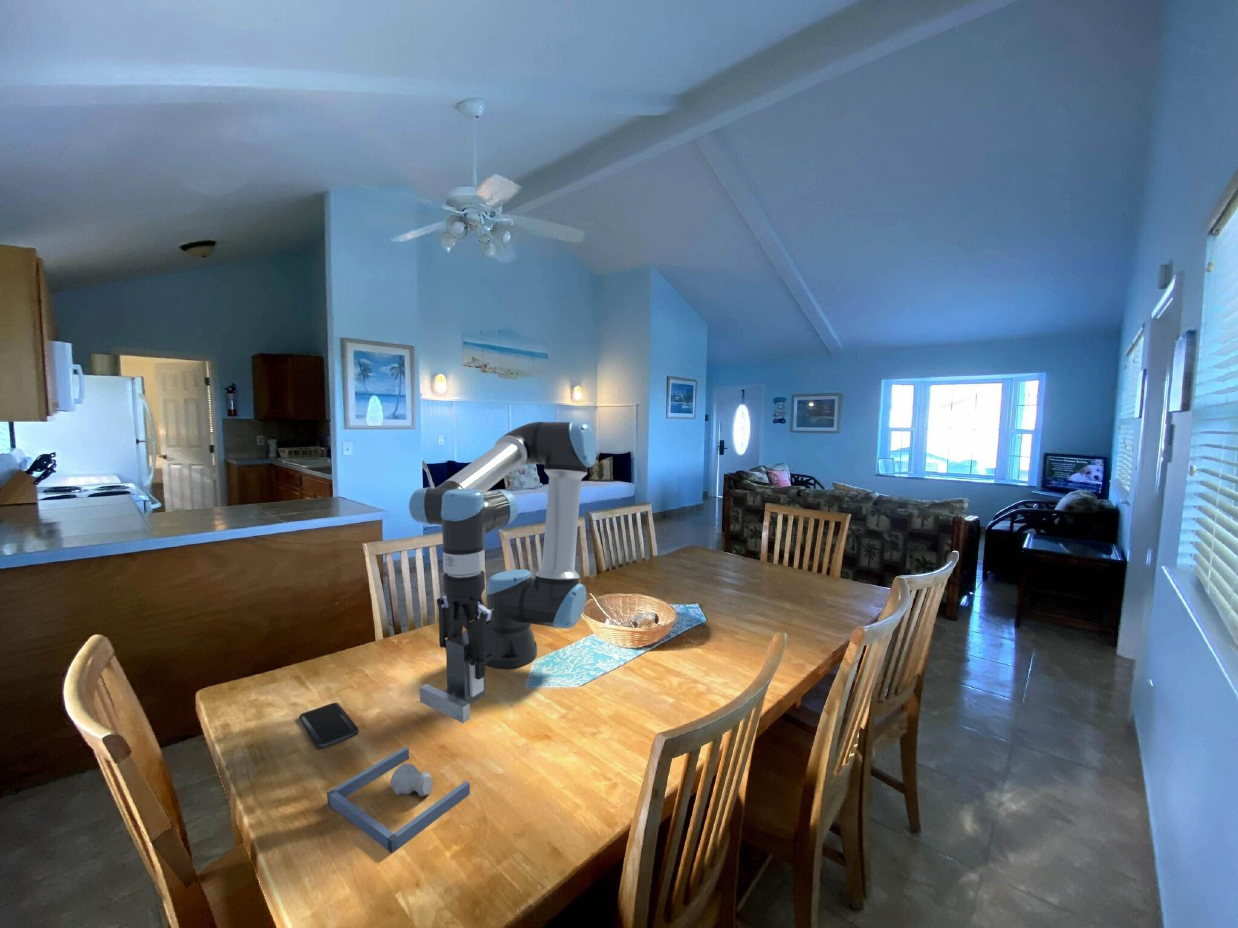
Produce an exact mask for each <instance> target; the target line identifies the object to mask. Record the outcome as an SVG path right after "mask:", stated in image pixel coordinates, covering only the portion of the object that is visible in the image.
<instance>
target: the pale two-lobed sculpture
mask: <svg viewBox="0 0 1238 928" xmlns="http://www.w3.org/2000/svg"><path fill="white" fill-rule="evenodd" d="M433 785H434V782H433V778H432V775H431V774H430V773H429V772H428V771H423V772H419V771H418V768H417V767H416V766H415V765H414V764H412V763H404V764H400V766H398V767H397V768H396V769H395V770H394V772H393V774H392V776H391V778H390V786H391V789H392V791H393V792H394V793H395V794H396V795H397V796H400V795H411V794H412V793H413V792H414V791H415V792H417V794H418V796H419V797H421V798H422V797H426V796H428V795H429V794H431V792H432V791H433Z"/></svg>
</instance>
